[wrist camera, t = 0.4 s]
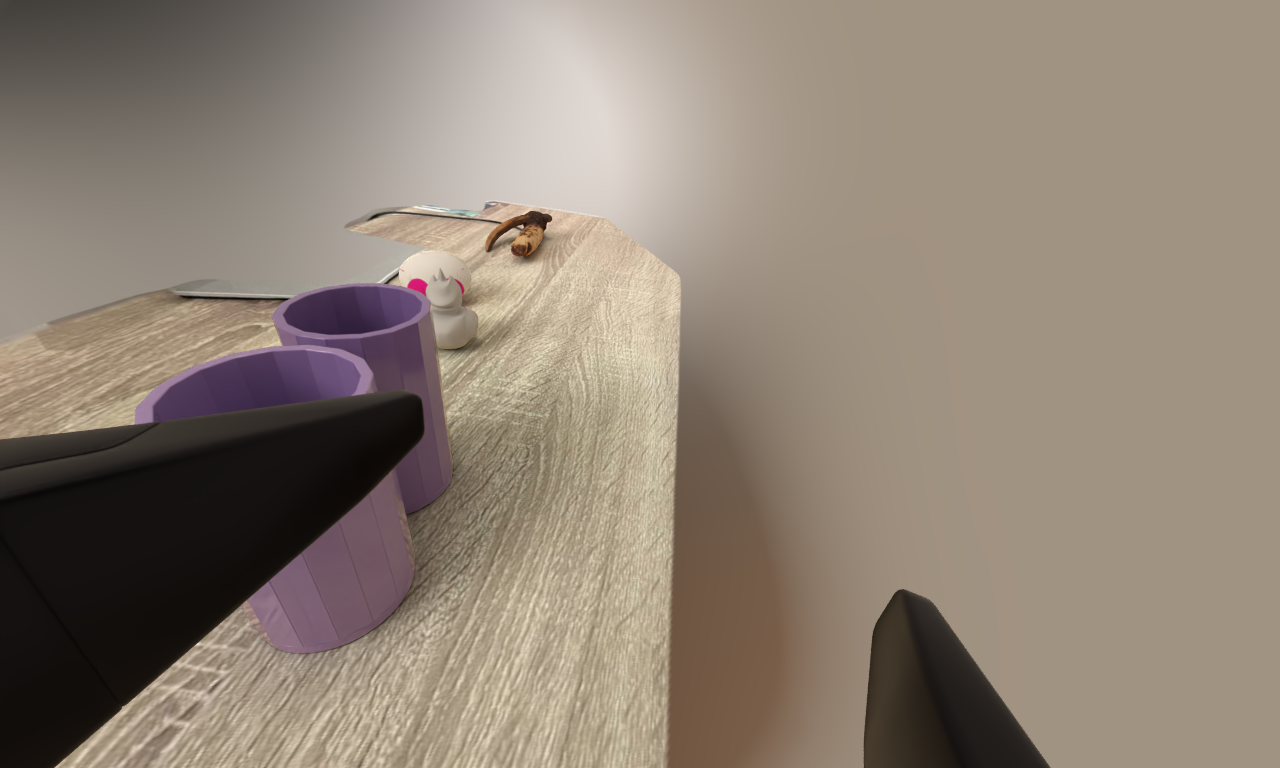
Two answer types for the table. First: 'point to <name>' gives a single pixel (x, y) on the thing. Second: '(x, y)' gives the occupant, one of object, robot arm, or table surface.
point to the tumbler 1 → (384, 363)
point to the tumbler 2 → (353, 547)
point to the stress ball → (433, 270)
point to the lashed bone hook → (522, 232)
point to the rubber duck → (450, 313)
